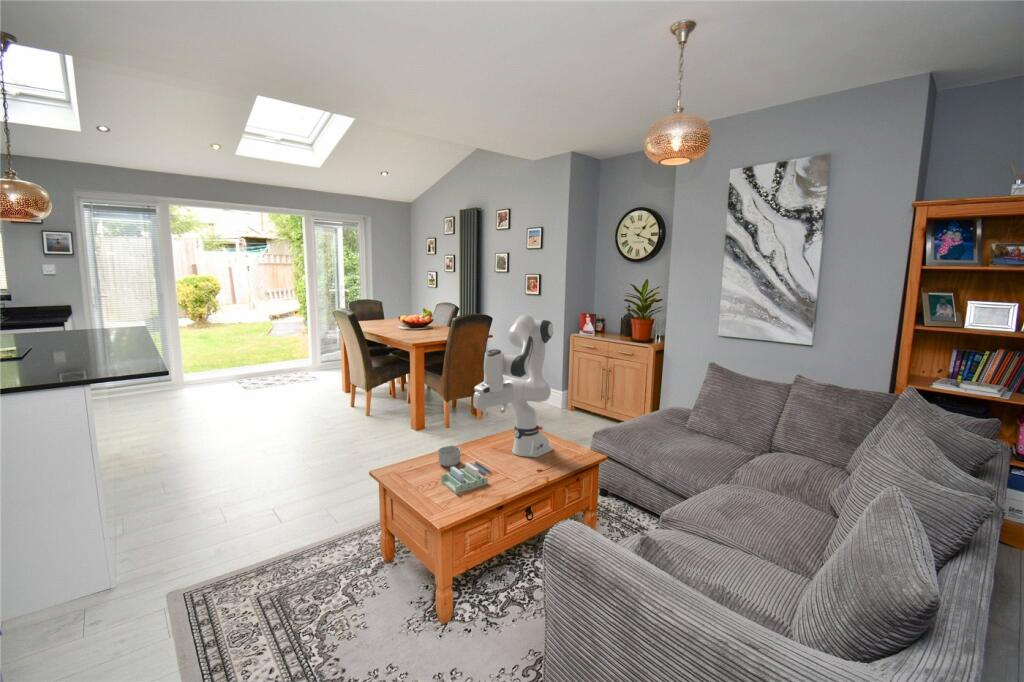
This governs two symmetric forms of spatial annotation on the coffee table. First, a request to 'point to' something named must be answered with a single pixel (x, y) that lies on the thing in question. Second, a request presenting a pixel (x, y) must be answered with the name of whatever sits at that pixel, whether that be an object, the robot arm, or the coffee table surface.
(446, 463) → the teacup
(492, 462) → the coffee table surface
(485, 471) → the stand
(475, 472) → the plate
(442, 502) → the coffee table surface
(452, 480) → the rack
